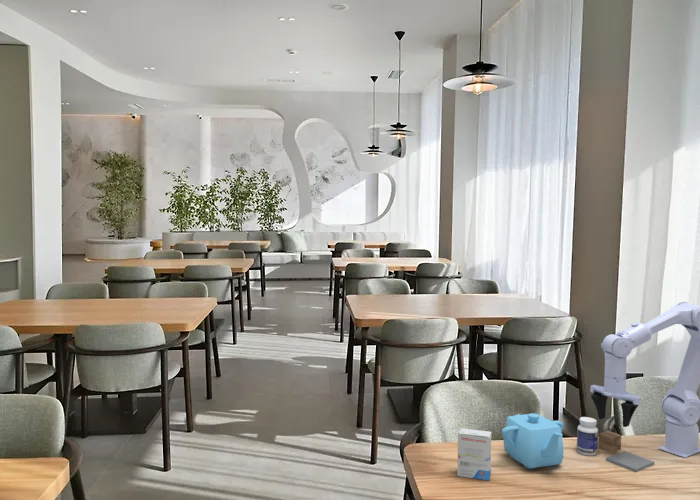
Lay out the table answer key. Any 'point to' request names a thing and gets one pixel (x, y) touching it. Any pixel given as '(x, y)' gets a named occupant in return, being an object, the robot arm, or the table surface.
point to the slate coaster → (630, 461)
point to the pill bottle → (587, 436)
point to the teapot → (533, 440)
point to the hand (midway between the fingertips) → (613, 422)
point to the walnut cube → (609, 441)
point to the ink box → (474, 454)
